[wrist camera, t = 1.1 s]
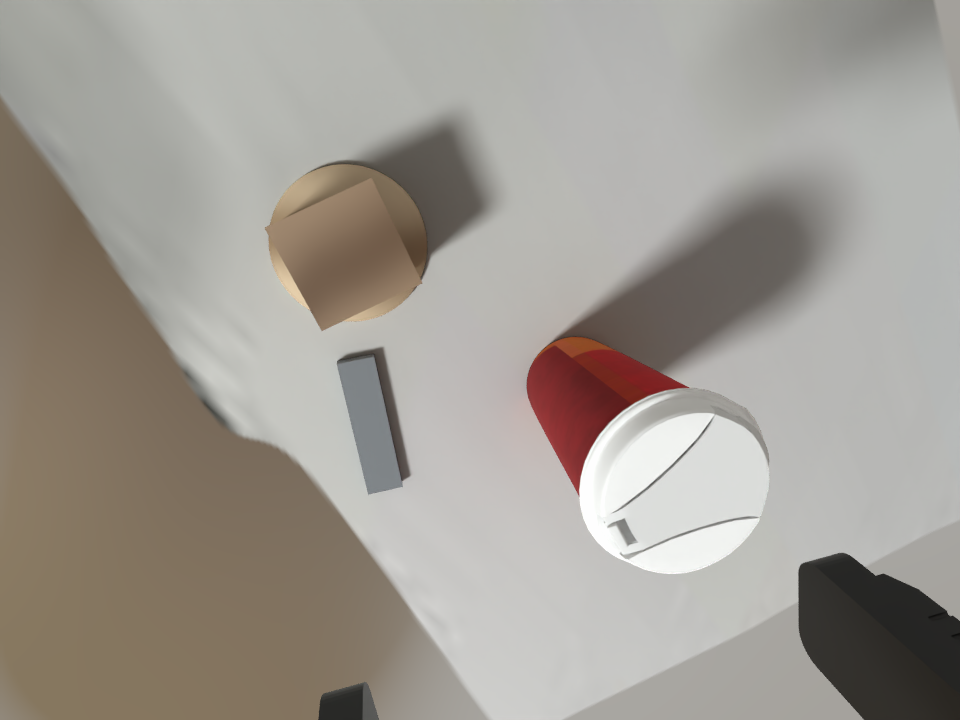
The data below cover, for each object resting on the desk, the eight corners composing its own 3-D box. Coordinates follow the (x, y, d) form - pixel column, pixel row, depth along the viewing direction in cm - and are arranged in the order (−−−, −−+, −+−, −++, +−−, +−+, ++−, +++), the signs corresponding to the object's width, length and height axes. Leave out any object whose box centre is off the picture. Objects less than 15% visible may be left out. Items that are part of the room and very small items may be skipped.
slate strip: (337, 361, 33) (337, 364, 32) (373, 353, 33) (374, 356, 33) (368, 489, 35) (368, 494, 35) (402, 482, 36) (402, 486, 35)
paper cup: (543, 463, 37) (640, 619, 24) (485, 360, 35) (556, 470, 21) (653, 399, 37) (811, 519, 24) (603, 292, 35) (748, 358, 21)
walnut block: (281, 221, 30) (264, 227, 26) (371, 178, 30) (371, 177, 26) (329, 309, 32) (321, 330, 27) (414, 268, 32) (422, 283, 27)
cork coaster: (251, 178, 30) (249, 178, 30) (411, 152, 31) (411, 152, 30) (291, 333, 32) (290, 334, 32) (438, 305, 33) (439, 306, 33)
